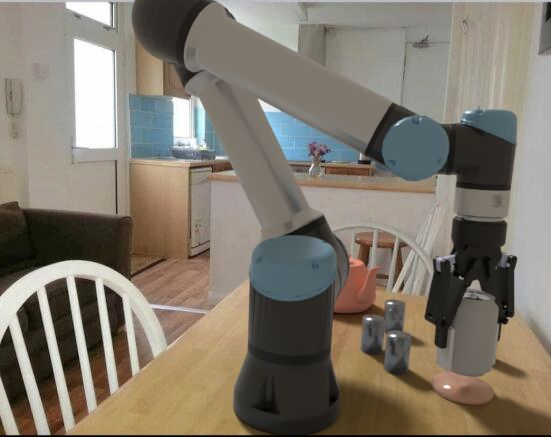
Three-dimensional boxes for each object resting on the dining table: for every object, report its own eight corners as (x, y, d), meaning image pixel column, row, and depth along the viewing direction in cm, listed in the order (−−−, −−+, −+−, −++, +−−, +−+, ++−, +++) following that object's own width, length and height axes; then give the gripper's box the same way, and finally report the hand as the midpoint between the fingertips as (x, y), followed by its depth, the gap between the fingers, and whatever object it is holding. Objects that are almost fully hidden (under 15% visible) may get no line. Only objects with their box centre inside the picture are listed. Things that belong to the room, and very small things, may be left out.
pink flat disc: (457, 408, 72) (457, 403, 72) (419, 380, 80) (420, 375, 80) (506, 400, 75) (507, 395, 75) (465, 373, 83) (465, 369, 83)
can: (443, 376, 74) (450, 298, 72) (437, 355, 81) (443, 284, 79) (496, 382, 73) (505, 303, 71) (486, 360, 80) (493, 288, 78)
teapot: (402, 316, 110) (407, 261, 108) (348, 328, 101) (352, 269, 100) (339, 289, 128) (342, 241, 126) (288, 297, 120) (290, 246, 118)
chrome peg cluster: (392, 375, 81) (395, 340, 81) (339, 332, 99) (341, 303, 98) (499, 360, 89) (502, 328, 88) (432, 323, 106) (434, 295, 106)
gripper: (438, 223, 66) (424, 383, 70) (553, 220, 73) (536, 366, 77) (406, 214, 73) (394, 361, 77) (514, 212, 80) (499, 347, 84)
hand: (465, 363), depth 77 cm, fingers closed on can, 7 cm apart
